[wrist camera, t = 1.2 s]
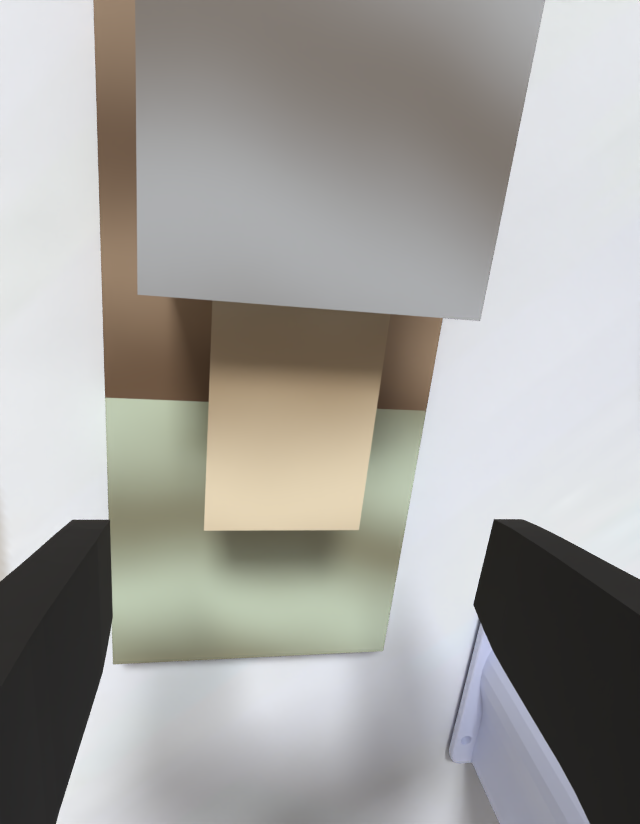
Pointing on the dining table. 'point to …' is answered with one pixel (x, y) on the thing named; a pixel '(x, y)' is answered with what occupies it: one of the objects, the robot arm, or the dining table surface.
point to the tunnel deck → (284, 275)
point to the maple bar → (290, 416)
